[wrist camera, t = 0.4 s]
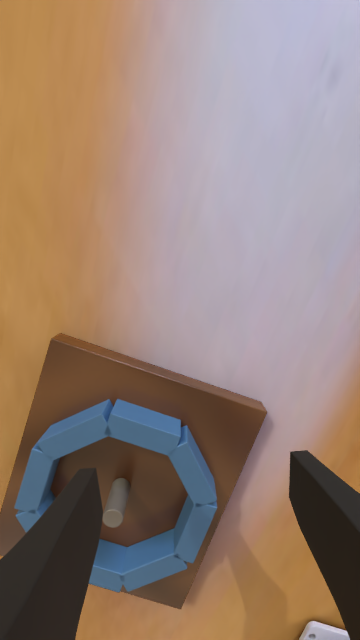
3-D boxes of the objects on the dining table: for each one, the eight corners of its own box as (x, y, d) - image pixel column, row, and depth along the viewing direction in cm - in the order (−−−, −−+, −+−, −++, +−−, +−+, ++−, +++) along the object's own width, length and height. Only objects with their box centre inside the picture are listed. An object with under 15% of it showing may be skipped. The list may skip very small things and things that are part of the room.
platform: (180, 589, 25) (180, 657, 20) (0, 534, 24) (-39, 593, 20) (261, 401, 22) (281, 436, 18) (60, 332, 21) (29, 351, 17)
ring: (174, 579, 23) (173, 609, 21) (15, 530, 22) (-2, 557, 20) (234, 437, 21) (240, 456, 19) (61, 379, 20) (48, 392, 18)
